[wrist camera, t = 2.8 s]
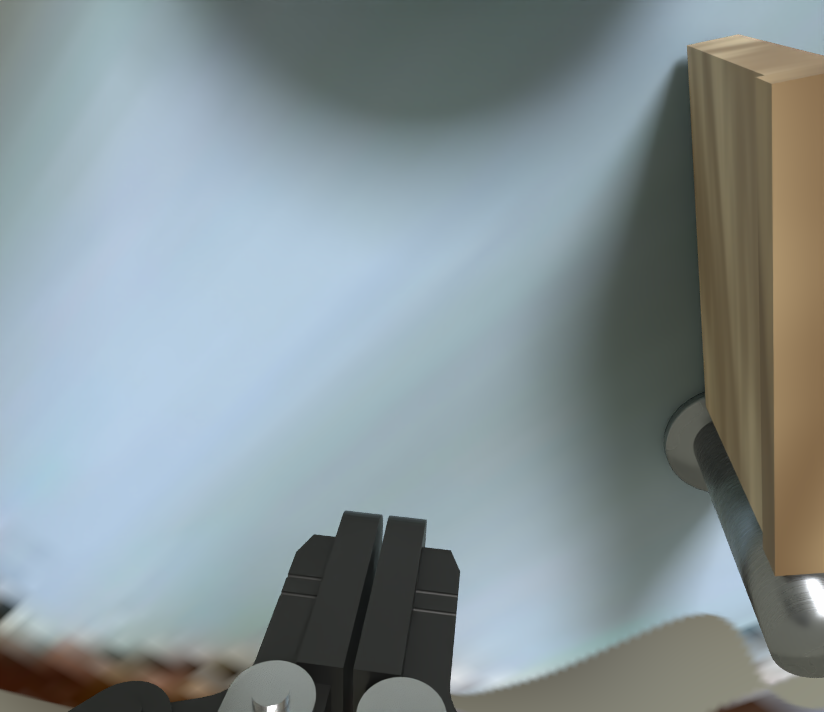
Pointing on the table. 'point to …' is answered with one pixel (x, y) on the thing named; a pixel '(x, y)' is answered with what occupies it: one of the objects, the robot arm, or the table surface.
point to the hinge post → (750, 544)
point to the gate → (764, 279)
